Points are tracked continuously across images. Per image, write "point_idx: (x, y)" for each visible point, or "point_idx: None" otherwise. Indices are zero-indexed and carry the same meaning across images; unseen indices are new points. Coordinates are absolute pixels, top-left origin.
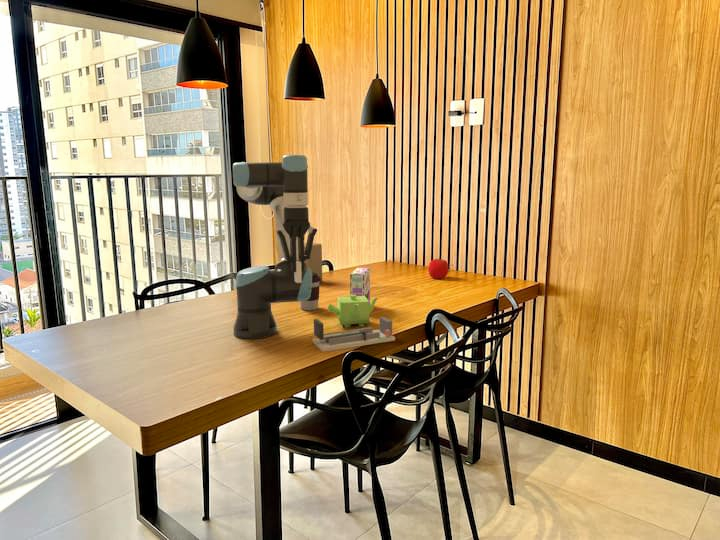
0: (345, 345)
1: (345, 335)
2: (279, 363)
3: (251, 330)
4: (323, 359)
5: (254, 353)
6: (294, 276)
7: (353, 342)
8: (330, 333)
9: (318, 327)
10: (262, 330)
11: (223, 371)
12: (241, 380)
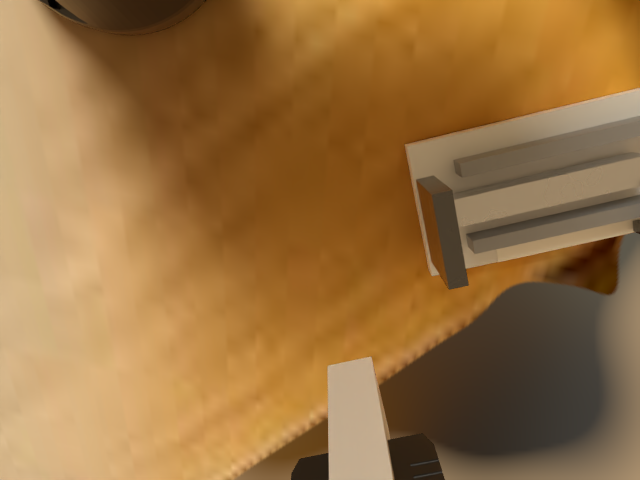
0: (534, 251)
1: (563, 201)
2: (253, 356)
3: (95, 23)
4: (416, 349)
5: (151, 236)
6: (328, 393)
7: (577, 237)
8: (499, 162)
9: (439, 261)
10: (155, 19)
11: (64, 389)
12: (137, 466)
